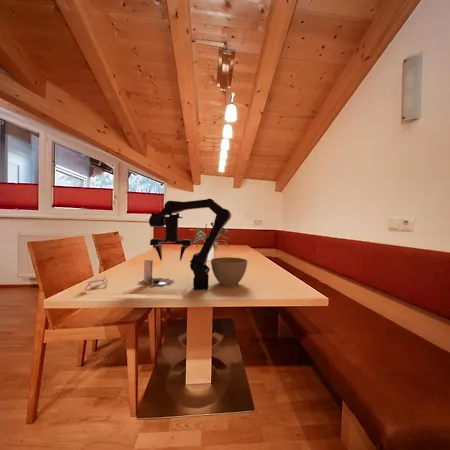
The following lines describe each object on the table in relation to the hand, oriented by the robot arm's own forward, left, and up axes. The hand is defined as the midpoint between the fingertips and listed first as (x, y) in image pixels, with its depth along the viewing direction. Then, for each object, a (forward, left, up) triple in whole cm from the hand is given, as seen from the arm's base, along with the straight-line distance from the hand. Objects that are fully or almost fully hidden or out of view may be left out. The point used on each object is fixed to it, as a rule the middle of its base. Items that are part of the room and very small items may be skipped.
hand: (170, 260), depth 114 cm
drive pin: (+9, +5, -10) cm, 15 cm away
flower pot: (-28, -4, -12) cm, 31 cm away
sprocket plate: (+6, +1, -12) cm, 14 cm away
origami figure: (+29, +8, -12) cm, 33 cm away
